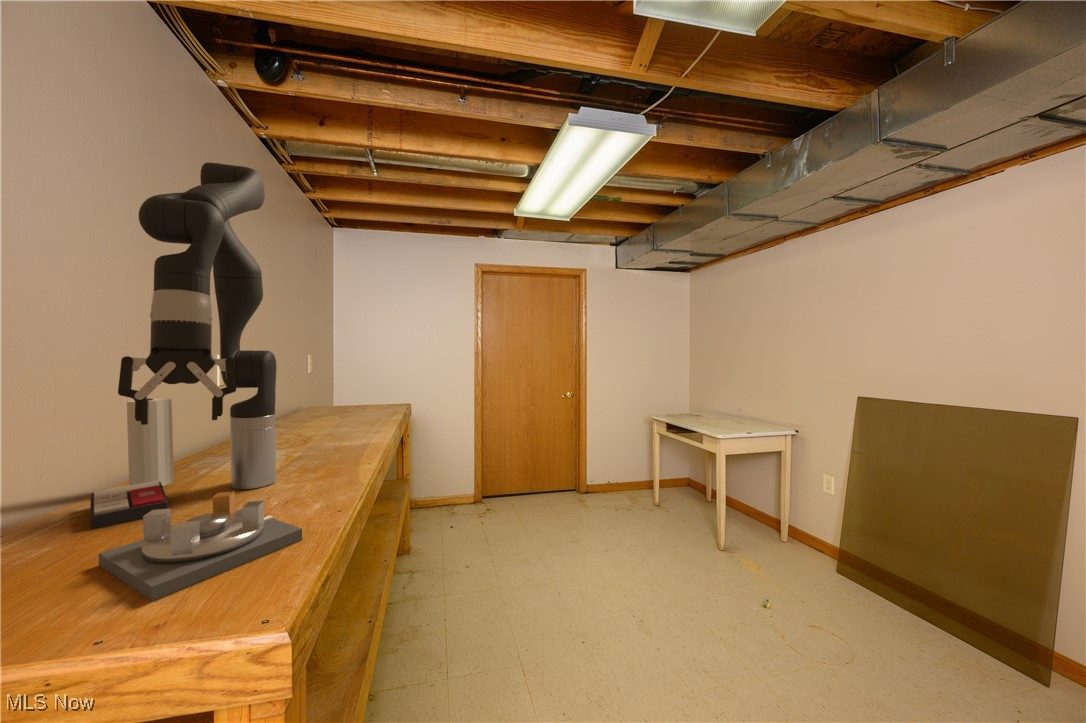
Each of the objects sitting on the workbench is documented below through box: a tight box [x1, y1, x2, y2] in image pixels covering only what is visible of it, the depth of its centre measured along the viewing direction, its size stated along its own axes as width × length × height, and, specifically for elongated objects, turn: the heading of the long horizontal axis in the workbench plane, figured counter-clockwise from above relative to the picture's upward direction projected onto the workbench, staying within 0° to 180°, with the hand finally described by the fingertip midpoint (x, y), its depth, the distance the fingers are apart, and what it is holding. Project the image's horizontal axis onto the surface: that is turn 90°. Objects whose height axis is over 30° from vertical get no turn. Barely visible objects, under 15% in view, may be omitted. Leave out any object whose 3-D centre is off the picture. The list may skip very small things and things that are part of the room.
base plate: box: [98, 508, 303, 602], centre depth 72 cm, size 19×21×2 cm
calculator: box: [89, 481, 169, 531], centre depth 89 cm, size 11×4×15 cm
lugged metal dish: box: [142, 491, 265, 563], centre depth 71 cm, size 16×16×5 cm
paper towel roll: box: [126, 398, 175, 487], centre depth 102 cm, size 7×6×21 cm
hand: (180, 422), depth 68 cm, fingers open, 8 cm apart
